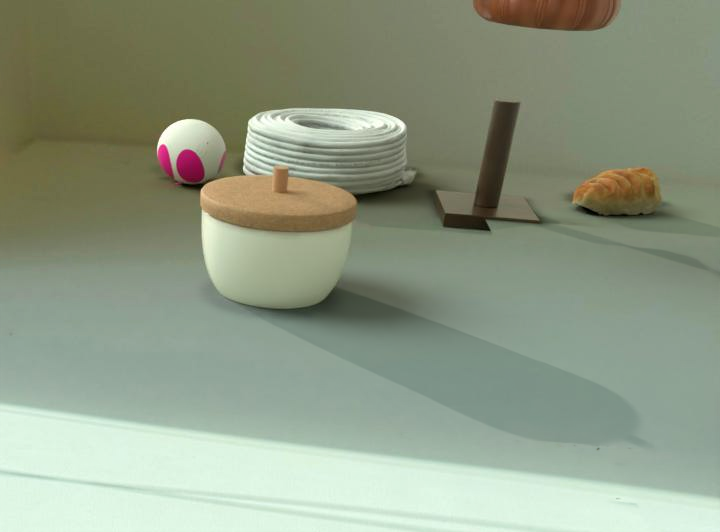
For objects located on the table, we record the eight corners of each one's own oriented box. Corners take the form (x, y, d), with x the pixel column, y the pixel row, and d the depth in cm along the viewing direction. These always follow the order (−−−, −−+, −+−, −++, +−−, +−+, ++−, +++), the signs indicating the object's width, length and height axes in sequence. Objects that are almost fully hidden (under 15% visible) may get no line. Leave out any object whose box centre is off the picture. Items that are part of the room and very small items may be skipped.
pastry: (602, 221, 93) (614, 179, 90) (552, 204, 97) (562, 164, 95) (662, 213, 97) (675, 173, 95) (612, 197, 101) (623, 159, 99)
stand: (520, 209, 95) (547, 95, 88) (536, 233, 88) (567, 112, 81) (433, 202, 95) (453, 88, 88) (442, 226, 88) (465, 104, 81)
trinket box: (172, 316, 65) (174, 170, 59) (230, 275, 73) (236, 142, 67) (317, 346, 62) (334, 196, 56) (360, 299, 70) (379, 163, 64)
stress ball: (152, 212, 97) (126, 160, 92) (191, 156, 99) (167, 101, 93) (209, 224, 94) (185, 171, 88) (248, 166, 95) (227, 109, 90)
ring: (592, 22, 73) (603, -22, 71) (629, 37, 65) (642, -12, 63) (461, 12, 73) (469, -32, 71) (482, 26, 65) (491, -23, 63)
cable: (424, 179, 102) (435, 118, 99) (368, 212, 90) (377, 143, 86) (283, 155, 108) (288, 96, 104) (212, 182, 96) (214, 116, 92)
